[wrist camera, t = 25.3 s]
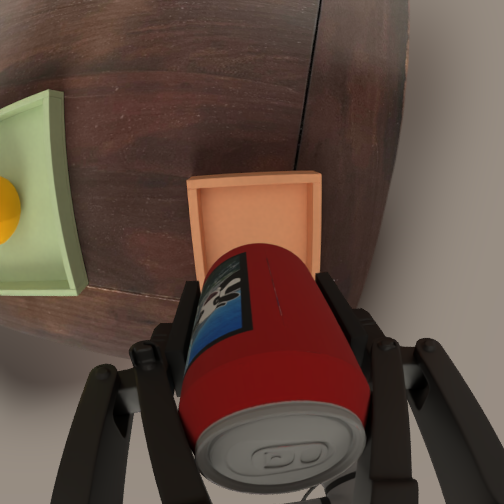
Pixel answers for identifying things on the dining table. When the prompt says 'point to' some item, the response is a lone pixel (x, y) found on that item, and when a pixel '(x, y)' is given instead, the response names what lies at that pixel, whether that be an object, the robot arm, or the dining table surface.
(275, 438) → the beverage can
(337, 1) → the dining table surface
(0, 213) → the orange
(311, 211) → the drink tray
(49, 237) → the fruit tray
